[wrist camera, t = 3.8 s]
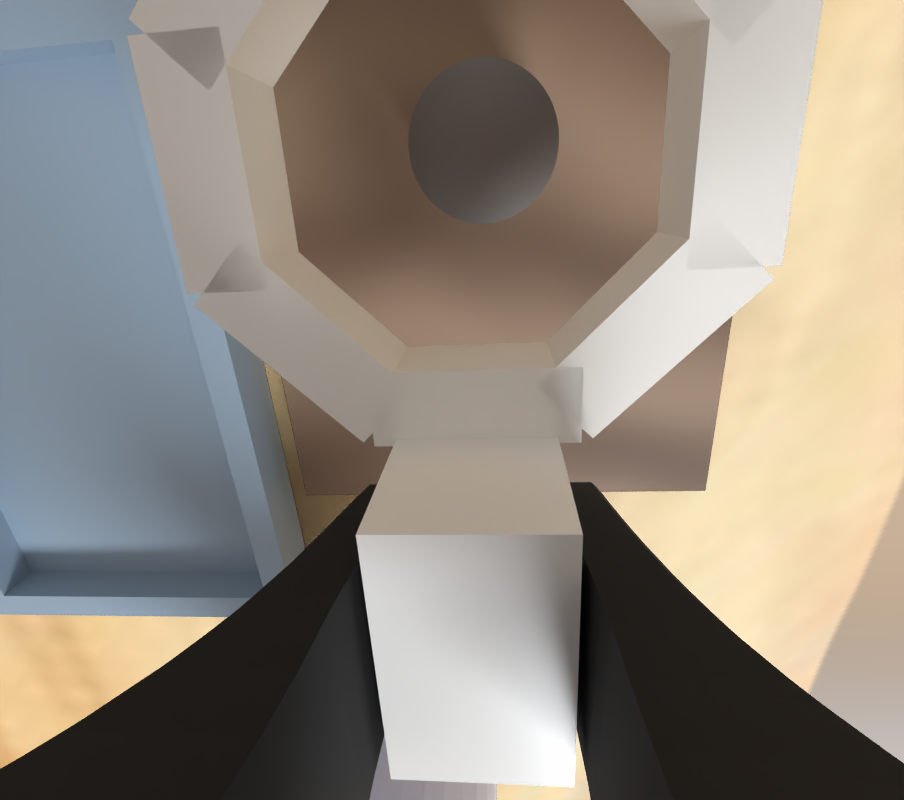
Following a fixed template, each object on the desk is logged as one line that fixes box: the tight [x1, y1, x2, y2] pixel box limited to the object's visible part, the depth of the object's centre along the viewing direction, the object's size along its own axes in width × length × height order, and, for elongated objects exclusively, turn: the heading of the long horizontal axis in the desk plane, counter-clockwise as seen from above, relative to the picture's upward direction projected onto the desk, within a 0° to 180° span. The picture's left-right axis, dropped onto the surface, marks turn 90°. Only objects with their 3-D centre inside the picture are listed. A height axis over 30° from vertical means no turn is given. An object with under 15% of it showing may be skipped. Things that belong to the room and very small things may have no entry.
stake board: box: [273, 0, 732, 495], centre depth 14 cm, size 16×14×5 cm
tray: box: [0, 0, 305, 617], centre depth 18 cm, size 20×13×2 cm, turn 4°
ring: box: [127, 0, 823, 787], centre depth 7 cm, size 12×8×4 cm
